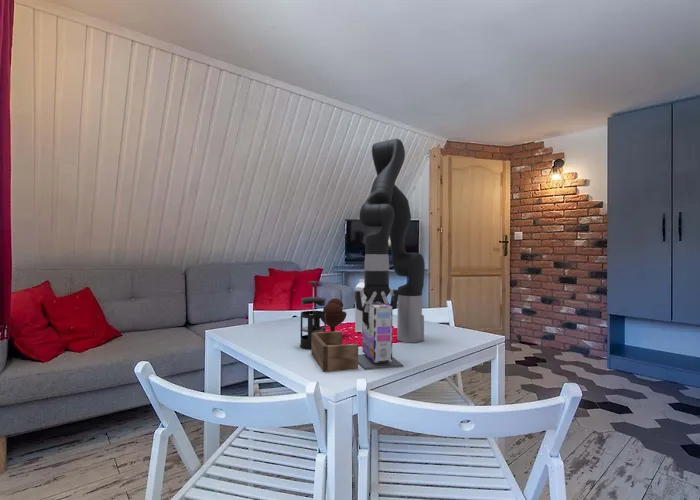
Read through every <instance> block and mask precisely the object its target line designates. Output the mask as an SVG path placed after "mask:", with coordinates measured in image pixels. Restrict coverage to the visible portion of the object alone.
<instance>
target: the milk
mask: <svg viewBox="0 0 700 500" xmlns="http://www.w3.org/2000/svg"><path fill="white" fill-rule="evenodd" d="M358 281H359V282H358V283H357V285H356V286H355V290H357V291H359V290H363V289H364V286H365V285H364V278H359V280H358ZM355 290H354V291H355ZM366 298H367V297H366V296H365V294H364V293H363V296H362V297H361V301H365V300H366ZM367 301H368V300H367ZM354 303H355V304H354V307H355V308H354V311H355V312H354V332H355V333H357V332H361V333H360V334H362V311H360V310H358V309H357V308H356V301H355V300H354Z"/></svg>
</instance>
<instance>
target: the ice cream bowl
mask: <svg viewBox="0 0 700 500" xmlns="http://www.w3.org/2000/svg"><path fill="white" fill-rule="evenodd" d="M343 307H344V303H343V300H341V299H340V298H336V297H335V298H331V299H330V300H328V302H327V304H325V305H324V307H323V310H322V311H324V312H326V326H328V327H329V328H330V329H329V330H330V331H329V332H334V331H336V327H337V326H339V325H340V324H342V323H343V322H344V321H345V319H346V317H347V312H346V311H343ZM320 321H321V322H322V323H323V324H325V317H324V318H320Z"/></svg>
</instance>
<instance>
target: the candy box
mask: <svg viewBox="0 0 700 500" xmlns="http://www.w3.org/2000/svg"><path fill="white" fill-rule="evenodd" d="M364 302H365V301H362V307H363V305H364ZM389 305H390V304H389ZM389 305H387V304H384V303H381V302H375V303H372V305H369V310H368V313H369V324H368V325H366V324H364V322H363V312H362V333H361V336H362V337H361V339H362V341H361V342H362V343H361V345H362V348H361V349H362V352H363V353H362V354H366V355H367V356H368V357H369V358H370V359H371V360H372V361H373V362H374V363H375V362H392V357H393V310H392V306H389Z"/></svg>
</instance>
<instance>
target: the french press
mask: <svg viewBox="0 0 700 500" xmlns="http://www.w3.org/2000/svg"><path fill="white" fill-rule="evenodd" d="M307 283H308V284H311V286H312V287H311V288H312V296H308V297H302V298H300V301H301V305H302V306H305V305H307V304H312V310H304V311H301V312H300V345H299V348H300V349H303V350H309V351H311V333H315V332H327V325H326V312H324V311H323V310H315V304H316V305H317V306H319V307H323V306H324V307H325V306H326V300H327V298H325V297H318V296H315V287H316V284H320V282H319V281H315V280H311V281H308V282H307ZM324 317H325V323H324V324H323V325H324V326H321V318H324ZM303 318H304V319H307V325H306V326H303ZM303 332H306V333H307V334H305V335H303Z"/></svg>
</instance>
